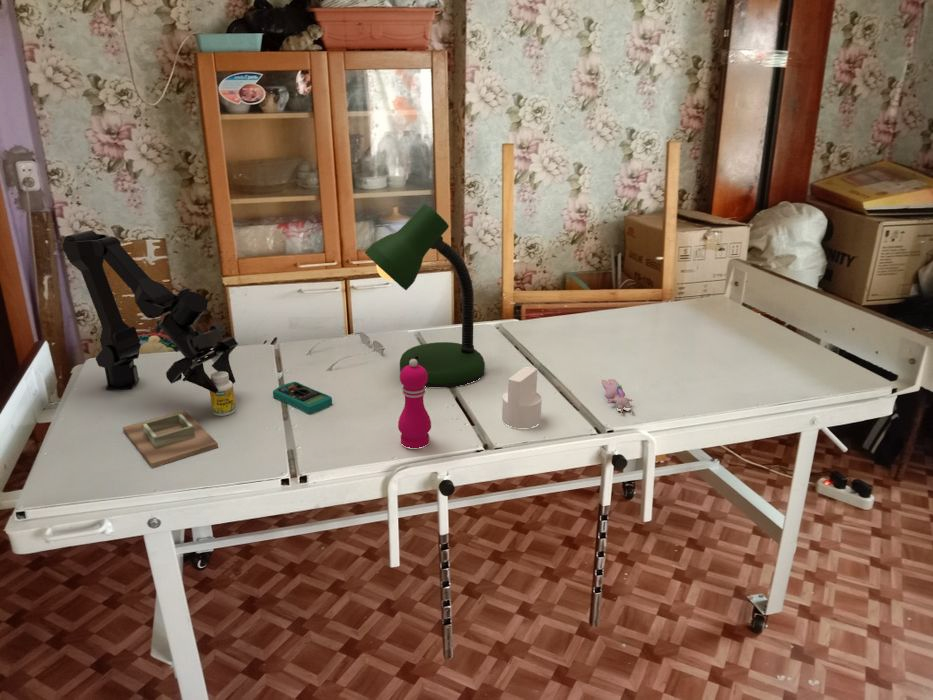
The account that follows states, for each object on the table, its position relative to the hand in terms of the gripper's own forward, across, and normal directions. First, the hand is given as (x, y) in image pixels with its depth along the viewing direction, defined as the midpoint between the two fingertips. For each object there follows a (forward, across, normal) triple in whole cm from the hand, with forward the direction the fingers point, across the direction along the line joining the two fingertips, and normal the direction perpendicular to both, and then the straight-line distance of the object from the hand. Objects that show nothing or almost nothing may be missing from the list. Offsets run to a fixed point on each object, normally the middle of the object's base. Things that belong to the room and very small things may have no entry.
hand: (225, 387), depth 176 cm
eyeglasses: (+8, +42, +2) cm, 43 cm away
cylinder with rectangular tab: (+50, +27, -40) cm, 70 cm away
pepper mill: (+38, +7, -28) cm, 48 cm away
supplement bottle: (+4, 0, +6) cm, 7 cm away
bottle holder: (+3, -16, +7) cm, 17 cm away
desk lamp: (+27, +42, -17) cm, 52 cm away
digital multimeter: (+13, +13, -3) cm, 19 cm away
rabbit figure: (+62, +47, -52) cm, 94 cm away
